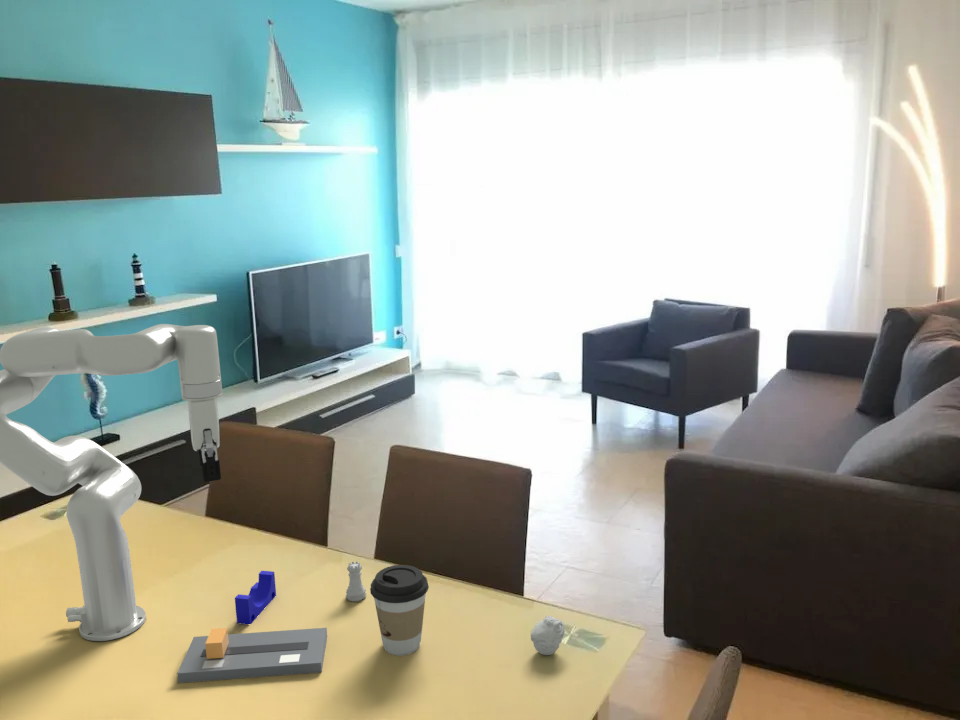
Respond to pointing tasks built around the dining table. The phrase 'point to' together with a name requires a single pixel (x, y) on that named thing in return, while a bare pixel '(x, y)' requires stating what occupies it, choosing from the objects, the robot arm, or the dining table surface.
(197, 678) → the switch panel
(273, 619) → the dining table surface
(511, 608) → the dining table surface
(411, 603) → the coffee cup
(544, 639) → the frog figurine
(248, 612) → the blue curved stepped piece
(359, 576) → the rook chess piece
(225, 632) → the switch knob
